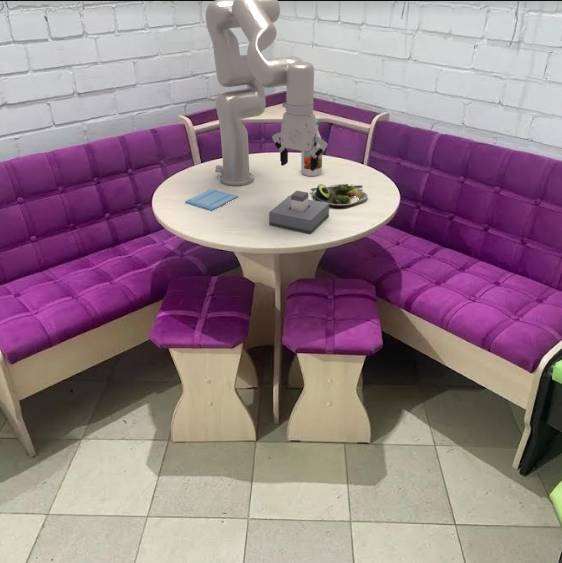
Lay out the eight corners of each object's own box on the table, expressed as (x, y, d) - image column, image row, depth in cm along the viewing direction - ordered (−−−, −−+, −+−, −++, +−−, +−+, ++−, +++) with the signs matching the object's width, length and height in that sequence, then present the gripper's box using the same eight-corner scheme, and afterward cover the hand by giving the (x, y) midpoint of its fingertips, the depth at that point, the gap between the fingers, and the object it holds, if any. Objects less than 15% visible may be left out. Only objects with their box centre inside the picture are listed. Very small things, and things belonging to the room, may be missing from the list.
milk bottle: (297, 174, 212) (297, 120, 202) (308, 168, 217) (308, 116, 207) (314, 178, 208) (315, 124, 198) (325, 172, 214) (327, 119, 203)
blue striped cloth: (211, 191, 200) (211, 188, 199) (238, 199, 194) (237, 195, 193) (185, 204, 190) (184, 201, 190) (212, 212, 184) (212, 209, 184)
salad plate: (347, 183, 204) (347, 171, 202) (380, 199, 191) (381, 186, 189) (303, 195, 195) (303, 183, 193) (335, 213, 182) (335, 199, 180)
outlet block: (269, 225, 174) (269, 211, 172) (289, 208, 185) (289, 195, 183) (310, 233, 169) (310, 220, 166) (328, 216, 179) (329, 203, 177)
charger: (291, 219, 176) (290, 195, 172) (296, 214, 179) (296, 190, 175) (302, 221, 174) (302, 197, 170) (308, 216, 177) (308, 192, 173)
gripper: (266, 108, 160) (267, 166, 169) (322, 116, 153) (320, 175, 162) (278, 102, 165) (278, 158, 174) (333, 109, 158) (330, 167, 168)
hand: (298, 166), depth 168 cm, fingers open, 9 cm apart
